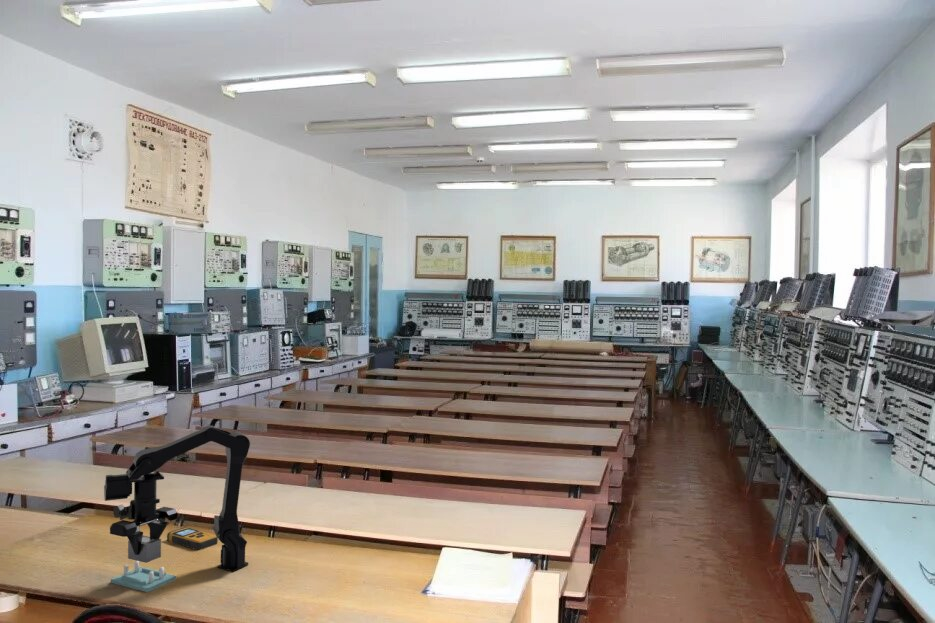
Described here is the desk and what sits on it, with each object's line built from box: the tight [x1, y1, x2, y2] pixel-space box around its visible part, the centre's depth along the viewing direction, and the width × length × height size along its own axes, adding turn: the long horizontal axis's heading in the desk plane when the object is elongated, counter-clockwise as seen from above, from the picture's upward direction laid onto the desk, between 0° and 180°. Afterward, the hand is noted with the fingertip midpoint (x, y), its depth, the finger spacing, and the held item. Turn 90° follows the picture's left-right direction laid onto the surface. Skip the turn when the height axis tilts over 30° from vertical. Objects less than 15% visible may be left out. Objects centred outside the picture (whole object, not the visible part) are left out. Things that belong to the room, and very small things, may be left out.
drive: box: [127, 535, 162, 564], centre depth 203 cm, size 7×5×5 cm
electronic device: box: [166, 527, 219, 551], centre depth 236 cm, size 8×16×3 cm, turn 59°
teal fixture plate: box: [110, 560, 177, 593], centre depth 203 cm, size 14×10×4 cm
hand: (144, 551), depth 203 cm, fingers closed on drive, 5 cm apart
